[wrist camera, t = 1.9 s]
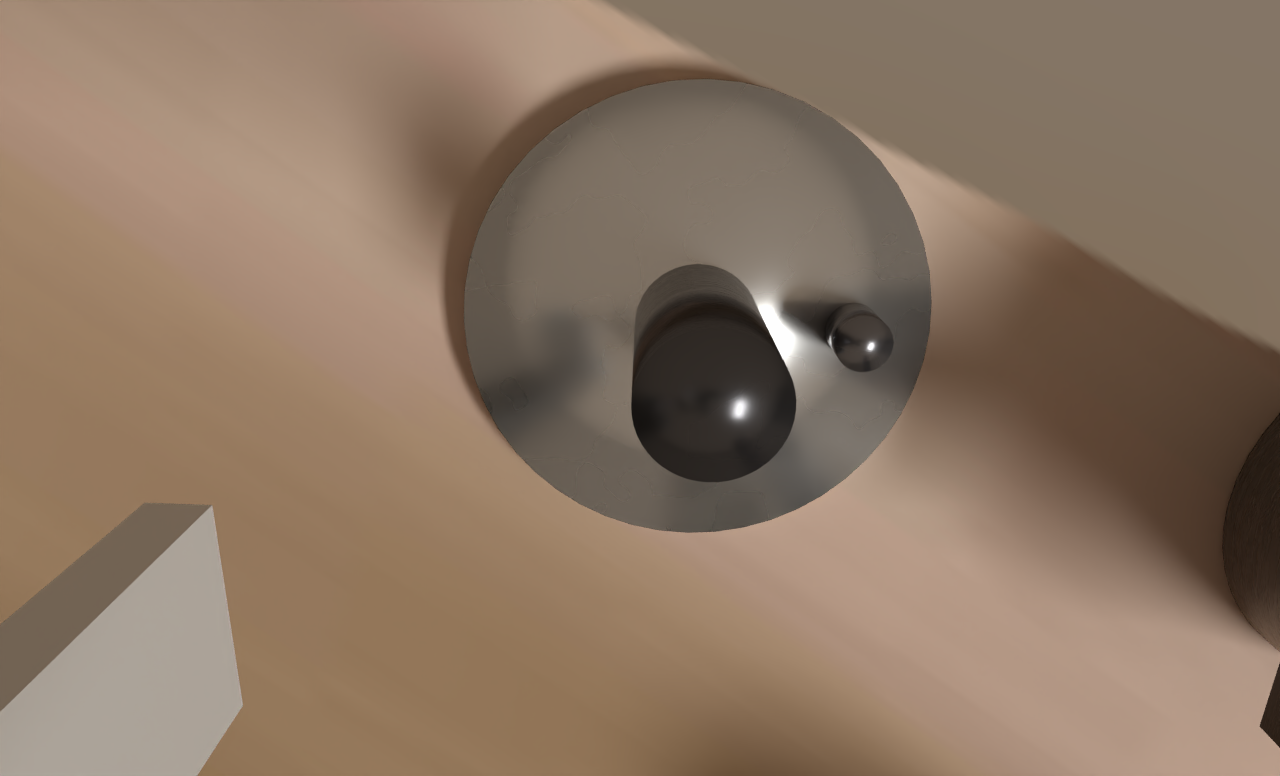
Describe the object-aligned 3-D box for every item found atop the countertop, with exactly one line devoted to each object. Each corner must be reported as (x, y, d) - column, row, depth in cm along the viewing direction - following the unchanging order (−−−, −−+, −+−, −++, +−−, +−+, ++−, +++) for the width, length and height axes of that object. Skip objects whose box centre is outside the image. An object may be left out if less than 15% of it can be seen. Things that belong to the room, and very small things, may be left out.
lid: (478, 510, 26) (421, 660, 19) (461, 72, 22) (382, 71, 15) (891, 521, 26) (976, 673, 19) (949, 84, 22) (1081, 88, 15)
